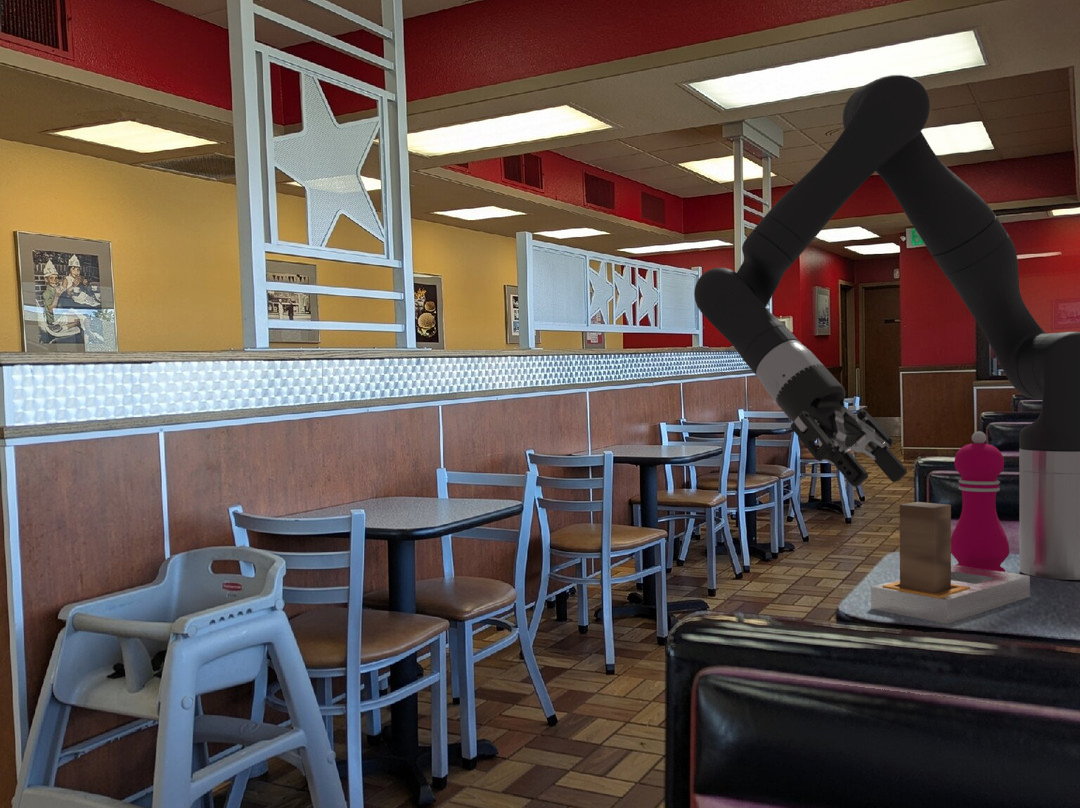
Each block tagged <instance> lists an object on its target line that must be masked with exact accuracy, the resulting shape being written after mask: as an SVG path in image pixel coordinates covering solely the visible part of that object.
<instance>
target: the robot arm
mask: <svg viewBox="0 0 1080 808" xmlns="http://www.w3.org/2000/svg"><path fill="white" fill-rule="evenodd" d="M930 103H931V102H930V97H929V94H928V91H927V90H926V88H925V87H924V85H923V84H922V83H921V82H920V81H919V80H917V79H916V78H914V77H912V76H909V75H904V74H890V75H886V76H882V77H879V78H878V79H877V78H876V79H875V80H873V81H870V82H868V83H867V84H865V85H863V86H861V87H860V88H858V89H856V90H855V91H854V92H853V93H852V94H851V95H850V97H849V98H848V99H847V101H846V103H845V105H844V108H843V113H842V125H843V131H842V133H841V134H840V136H839V137H838V138H837V140H836V141H835V142H834V144H833V145H832V146H831V147H830V148H829V150H828V151H827V152H826V153H825V154H824V156H823V157H822V158H821V159H820V160H819V161H818V162H817V163H816V164H815V165H814V166H813V167H812V168H811V169H810V170H809V171H808V172H807V173H806V174H805V175H804V176H803V177H802V178H801V179H800V180H798V181H797V183H795V184H794V185H793V186H792V187H791V188H790V189H789V190H788V191H787V192H786V193H785V194H783V196H782V197H781V198H780V199H779V200H778V201H777V202H776V203H775V204H774V205H773V206H772V207H771V209H770V210H769V211H768V212H767V213H766V214H765V215H764V217H763V218H762V219H761V220H760V221H759V223H758V224H757V225H756V226H755V227H754V228H753V230H752V231H751V232H750V233H749V235H748V236H747V237H746V238H745V239H744V242H743V243H742V247H741V250H742V255H743V262H742V263H741V265H740V266H739V268H738V270H737V272H736V271H734V270H732V269H730V268H727V267H715V268H711V269H708V270H707V271H705V272H703V274H702V275H700V277H699V278H698V279H697V282H696V284H695V286H694V293H693V294H694V301H695V305H696V307H697V308H698V310H699V312H700V313H702V315H703V316H704V317H705V318H706V319H707V320H708V321H709V322H710V324H712V326H713V327H714V328H715V329H716V330H717V331H718V332H719V333H720V334H721V335H723V337H724V338H725V339H726V340H727V341H728V342H729V343H730V344H731V345H732V346H733V347H734V349H735V350H736V352H737V353H738V354H739V356H740V357H741V359H742V360H743V361H744V363H745V364H746V365H747V366H748V367H749V369H750V371H752V373H754V375H755V376H756V377H757V378H758V380H759V381H760V383H761V385H762V387H763V388H764V390H765V391H766V392H767V394H768V395H769V396H770V397H771V398H772V400H773V401H774V402H775V403H776V404H777V406H778V407H779V408H780V409H781V411H783V413H784V414H785V415H786V416H787V417H788V419H789V420H790V421H791V424H790V428H791V429H792V430H793V433H795V434H796V435H797V437H798V438H799V440H800V441H801V442H802V443H803V445H804V446H805V447H806V449H807V450H808V452H809V453H810V454H811V455H812V456H813V458H814V459H815V460H817V461H818V462H822V461H823V460H825V461H826V462H827V463H828V464H830V465H834V466H835V467H836V468H837V469H838V471H839V472H840V473H841V474H842V476H843V477H844V478H845V479H846V481H848V483H849V484H850V485H851V486H852V487H853V488H854V487H861V485H862V484H863V483H864V482H865V481H866V480H867V479H868V478H869V473H868V472H867V471H866V469H865V468H864V467H863V466H862V465H861V463H860V462H859V461H858V460H857V459H856V458H855V456H854V454H852V452H850V451H847V450H848V449H847V448H849V449H850V450H852V451H853V452H854V453H863V454H865V455H866V456H868V457H870V458H871V459H872V460H873V461H874V463H875V464H876V465H877V466H878V468H880V470H881V471H882V472H883V473H884V474H885V475H886V476H887V478H888V479H889V480H890V481H891V482H892V483H896V482H899V481H901V480H902V479H903V477H905V476H906V474H907V473H908V469H907V467H906V466H904V464H903V463H902V462H901V461H900V459H899V458H898V457H897V456H896V455H895V454H894V452H892V450H890V448H891V446H893V445H894V444H895V440H894V439H893V438H892V436H890V435H889V433H888V432H887V431H886V430H885V429H884V428H883V427H882V426H881V425H880V424H879V423H878V422H877V420H875V419H874V418H873V417H872V415H870V414H869V412H868V411H866V409H863V408H860V410H859V411H858V412H857V413H854V412H852V411H851V410H850V409H848V408H847V407H846V406H845V404H844V403H845V397H846V389H845V387H844V386H843V385H842V384H841V383H840V382H839V381H838V380H837V379H836V377H835V376H834V375H833V374H832V373H831V372H830V371H829V369H827V367H826V366H825V365H824V364H823V363H822V362H821V361H820V360H819V359H818V358H817V356H816V355H815V354H814V353H813V352H812V351H811V350H810V349H809V348H807V347H806V346H805V345H804V344H802V342H800V340H799V339H798V338H797V337H796V336H795V335H794V334H793V333H792V331H791V330H790V329H789V328H788V327H787V326H786V325H785V324H784V323H783V322H782V321H781V320H779V319H778V318H777V317H776V316H775V315H774V314H773V313H771V312H770V310H768V308H767V306H768V304H769V302H770V301H771V299H772V297H773V295H774V293H775V291H776V290H777V288H778V287H779V284H780V282H781V280H782V278H783V276H784V275H785V273H786V271H787V270H789V268H790V267H791V266H792V265H793V264H794V263H795V261H796V260H798V258H799V257H800V255H802V253H803V252H805V250H806V248H807V247H808V246H810V244H811V243H812V242H813V240H814V239H815V238H816V237H817V236H818V235H819V233H820V232H821V231H822V229H823V228H824V227H825V226H826V225H827V224H828V222H829V221H830V220H832V218H833V217H834V215H836V213H838V211H839V210H840V208H841V207H843V205H844V204H845V203H847V201H848V200H849V199H850V198H851V196H852V195H854V193H855V192H856V191H857V190H858V189H859V188H860V187H861V186H862V185H863V184H864V183H865V182H866V181H867V180H868V179H869V178H870V177H871V176H872V175H873V174H875V172H876V174H878V176H879V177H880V178H881V179H882V180H883V182H884V183H885V184H886V185H887V187H888V188H889V190H890V191H891V192H892V194H893V195H894V197H895V198H896V201H897V202H898V203H899V205H900V207H901V209H902V210H903V212H904V214H905V215H906V217H907V218H908V220H909V222H910V224H911V225H912V226H913V228H914V230H915V231H916V232H917V234H918V236H919V238H920V239H921V240H922V242H923V243H924V246H926V249H927V250H928V252H929V253H930V255H931V256H932V258H933V259H934V261H935V262H936V264H937V265H938V267H939V268H940V270H941V271H942V272H943V274H944V275H945V277H946V279H947V280H948V281H949V282H950V283H951V285H952V286H953V288H954V289H955V291H956V292H957V293H958V295H959V296H960V298H961V299H962V302H963V303H964V304H965V306H966V308H967V309H968V310H969V312H970V314H971V315H972V317H973V318H974V320H975V321H976V322H977V324H978V326H979V328H980V329H981V331H982V333H983V335H984V336H985V338H986V340H987V342H988V344H989V346H990V347H991V350H992V351H993V353H994V356H995V358H996V359H997V361H998V363H999V366H1000V367H1001V369H1002V371H1003V373H1004V374H1005V377H1006V378H1007V380H1008V381H1009V383H1010V384H1011V386H1013V388H1014V389H1015V390H1016V391H1017V392H1018V393H1019V394H1020V395H1023V396H1025V397H1026V398H1029V399H1033V400H1042V401H1041V402H1042V403H1041V411H1040V414H1039V415H1038V418H1037V419H1035V420H1034V421H1033V422H1031V423H1030V424H1028V425H1026V426H1024V427H1023V428H1021V430H1020V432H1019V439H1018V440H1019V443H1018V447H1019V451H1018V452H1019V453H1018V454H1019V456H1018V457H1019V464H1018V466H1019V544H1018V545H1019V547H1018V548H1019V549H1018V550H1019V572H1020V573H1022V574H1023V575H1028V576H1033V577H1038V578H1044V579H1053V580H1065V581H1069V580H1070V581H1080V331H1064V332H1052V333H1047V332H1046V331H1045V330H1044V329H1043V328H1042V327H1041V326H1040V325H1039V323H1038V322H1037V321H1036V320H1035V318H1034V317H1033V315H1032V314H1031V312H1030V310H1029V309H1028V308H1027V306H1026V304H1025V302H1024V300H1023V297H1022V295H1021V290H1020V289H1021V288H1020V277H1019V260H1018V255H1017V250H1016V246H1015V244H1014V242H1013V240H1012V239H1011V237H1010V235H1009V234H1008V232H1007V230H1006V229H1005V227H1004V226H1003V224H1002V222H1001V221H1000V220H999V218H998V216H997V215H996V214H995V212H994V211H993V209H992V208H991V207H990V206H989V204H988V203H987V202H986V200H984V198H982V197H981V196H980V195H979V194H978V193H977V192H976V191H975V190H974V189H973V188H972V187H970V186H969V184H967V183H966V182H965V181H963V180H962V179H961V178H960V177H959V176H958V175H956V174H955V173H954V172H953V171H952V170H951V169H950V168H948V167H947V166H946V165H945V164H944V163H943V162H942V160H941V159H939V157H938V156H937V154H936V153H935V152H934V150H933V149H932V148H931V145H930V144H929V142H928V140H927V138H926V137H925V135H924V134H923V132H922V130H923V129H924V127H925V126H926V124H927V121H928V118H929V115H930V109H931V105H930ZM816 441H818V442H817V443H818V445H819V447H818V446H817V445H816ZM867 445H868V446H867Z"/></svg>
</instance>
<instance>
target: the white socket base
mask: <svg viewBox="0 0 1080 808" xmlns="http://www.w3.org/2000/svg"><path fill="white" fill-rule="evenodd" d="M955 565H956V564H955ZM955 565H951V589H950V590H947V591H943V592H940V593H932V592H926V591H920V590H914V589H908V588H902V587H900V579H897V580H892V581H888V582H884V583H879V584H877V585H872V586H870V609H871V610H876V611H880V612H884V613H885V612H886V613H891V614H895V615H896V614H897V615H901V616H902V615H903V616H907V617H911V618H916V619H917V618H918V619H922V620H927V621H930V622H931V621H932V622H937V623H943V624H950V623H953V622H956V621H960V620H962V619H966V618H969V617H971V616H975V615H977V614H980V613H981V614H982V613H984V612H987V611H990V610H993V609H997V608H1000V607H1002V606H1005V605H1006V606H1007V605H1009V604H1012V603H1015V602H1018V601H1020V600H1025V599H1026V598H1030V597H1031V594H1030V592H1031V586H1030V584H1031V581H1030V580H1031V575H1028V574H1020V573H1014V572H1007V571H1005V572H1000V571H994V570H987V569H980V568H973V567H966V566H959V565H956V566H955Z"/></svg>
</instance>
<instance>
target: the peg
mask: <svg viewBox="0 0 1080 808" xmlns="http://www.w3.org/2000/svg"><path fill="white" fill-rule="evenodd" d="M951 536H952V505H951V504H946V503H935V502H934V503H933V502H924V501H923V502H921V501H916V502H915V501H914V502H909V503H902V504H899V580H900V587H902V588H908V589H914V590H920V591H926V592H932V593H940V592H943V591H947V590H950V589H951V567H952V554H951Z"/></svg>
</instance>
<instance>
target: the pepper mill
mask: <svg viewBox="0 0 1080 808" xmlns="http://www.w3.org/2000/svg"><path fill="white" fill-rule="evenodd" d="M986 435H987V434H985V433H984V432H983V431H980V430H979V431H975V432H974V433H973V434H972V435H971V441H972V443H969V444H968V443H967V444H965V445H964V446H962V447H961V448H960V449H958V451H957V452H956V453H955V457H954V468H955V470H956V472H957V473H958V474H959V475H960V477H961V478H960V479H958V483H959V484H958V485H959V486H958V490H960V491H961V497H962V507H961V513H960V516H959V519H958V521H957V523H956V525H955V527H954V529H953V531H952V532H951V556H952V557H954V559H955V561H956V562H957V563H956V564H954V566H956V565H959V566H966V567H973V568H980V569H987V570H994V571H1000V572H1006V569H1005V568H1004V567H1003V566H1001V565H1002V563H1003V562H1004V561H1006V559H1007V558H1008V557H1009V555H1010V544H1009V540H1008V538H1007V534H1006V532H1005V530H1004V528H1003V526H1002V524H1001V521H1000V518H999V517H998V513H997V507H996V506H997V504H996V503H997V502H996V499H997V492H1000V490H1001V488H1000V485H999V484H1001V481H1000V480H998V477H999V476H1000V474H1002V472H1003V471H1004V467H1005V459H1004V456H1003V454H1002V453H1001V452H1002V451H1000V450H999V449H998V448H997V447H996V446H995V445H992V444H989V443H986V442H987V436H986Z"/></svg>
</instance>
